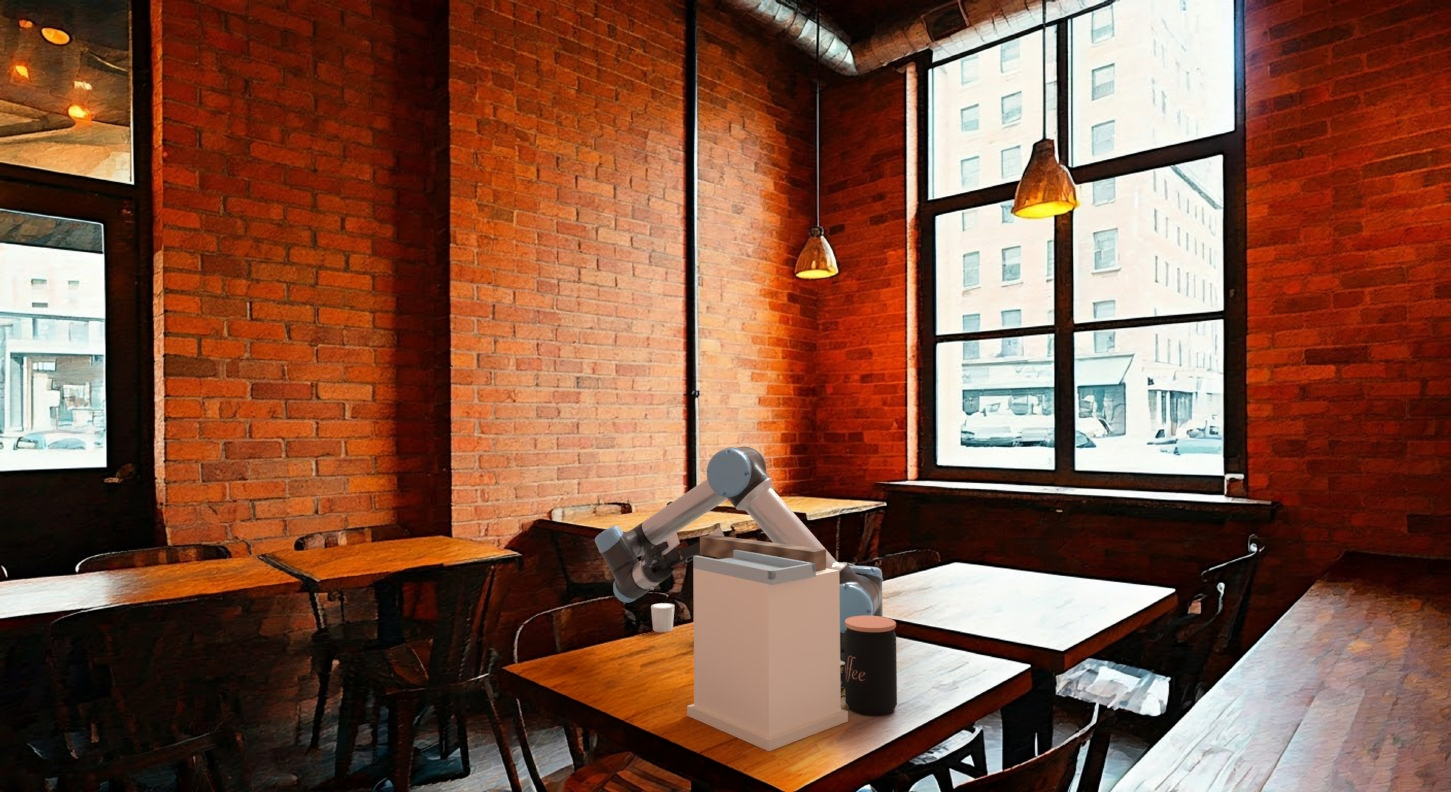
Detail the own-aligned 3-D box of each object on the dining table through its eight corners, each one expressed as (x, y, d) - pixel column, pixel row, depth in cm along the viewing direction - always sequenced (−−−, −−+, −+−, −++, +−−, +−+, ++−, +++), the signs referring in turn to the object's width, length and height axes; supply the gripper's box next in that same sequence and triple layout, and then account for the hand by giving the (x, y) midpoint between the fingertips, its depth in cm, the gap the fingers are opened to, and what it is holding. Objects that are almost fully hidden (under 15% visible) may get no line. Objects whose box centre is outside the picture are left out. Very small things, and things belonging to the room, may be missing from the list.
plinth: (687, 715, 165) (686, 568, 166) (764, 691, 180) (763, 555, 180) (768, 751, 147) (767, 585, 148) (847, 721, 161) (846, 570, 162)
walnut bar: (699, 554, 183) (699, 536, 183) (712, 552, 186) (711, 534, 186) (814, 572, 161) (814, 551, 161) (826, 569, 164) (826, 549, 164)
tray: (693, 568, 166) (693, 556, 166) (736, 561, 174) (736, 549, 174) (771, 585, 149) (771, 571, 149) (816, 576, 156) (815, 563, 157)
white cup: (671, 633, 229) (671, 608, 229) (647, 632, 231) (647, 607, 231) (677, 627, 236) (677, 603, 236) (654, 626, 237) (654, 602, 237)
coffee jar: (840, 700, 174) (839, 615, 174) (888, 698, 175) (887, 614, 175) (852, 718, 163) (851, 628, 164) (903, 716, 164) (902, 627, 165)
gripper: (696, 577, 211) (744, 545, 197) (615, 590, 194) (661, 556, 181) (688, 550, 214) (734, 517, 200) (607, 560, 197) (652, 525, 184)
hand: (700, 535), depth 190 cm, fingers open, 13 cm apart
